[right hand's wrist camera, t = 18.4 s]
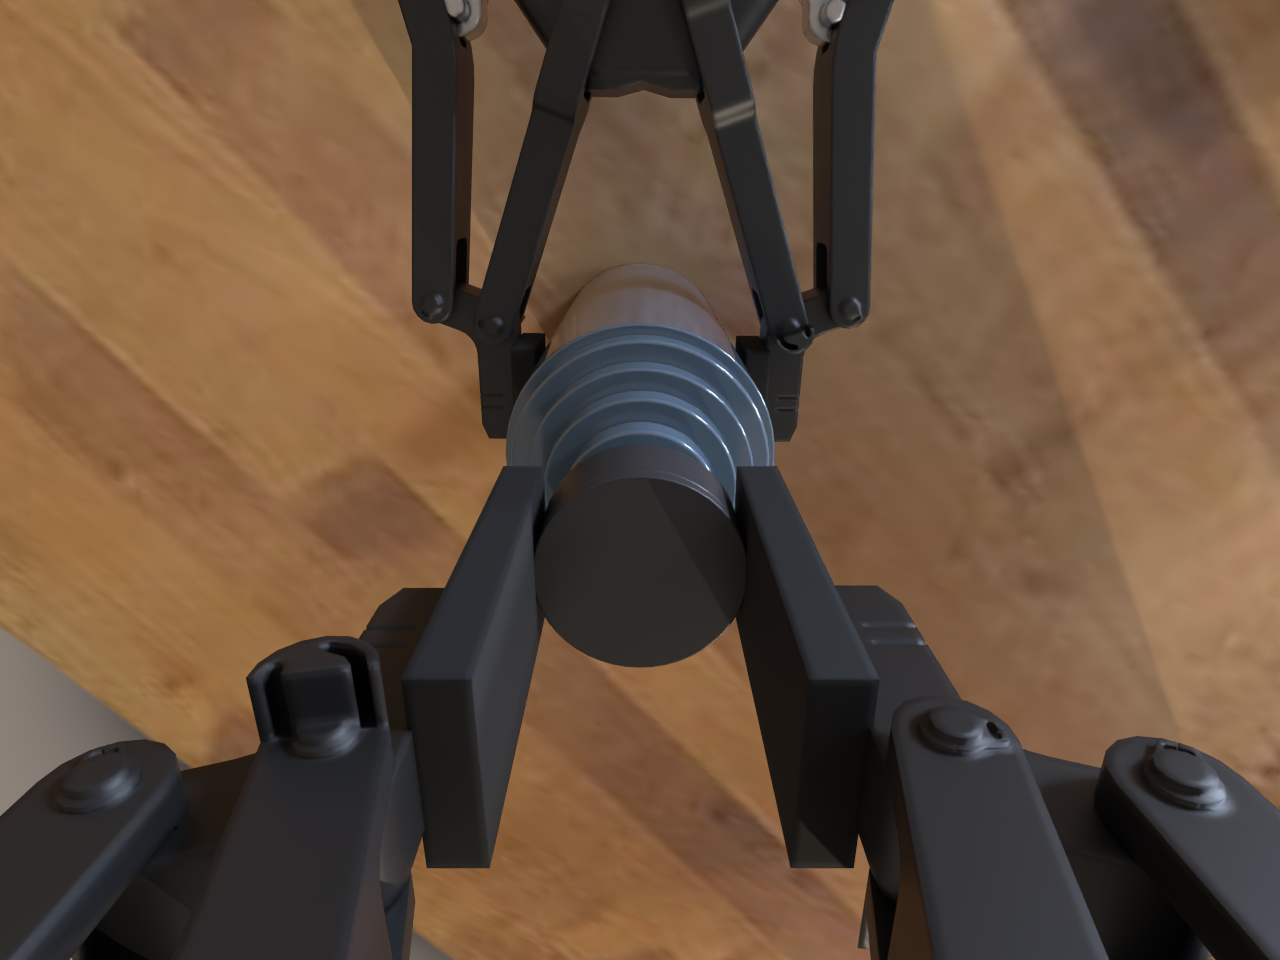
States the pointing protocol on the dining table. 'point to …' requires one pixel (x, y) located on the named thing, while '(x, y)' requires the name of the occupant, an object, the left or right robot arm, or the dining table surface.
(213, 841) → the right robot arm
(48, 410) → the dining table surface
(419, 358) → the dining table surface
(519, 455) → the bottle
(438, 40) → the left robot arm
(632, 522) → the cap
